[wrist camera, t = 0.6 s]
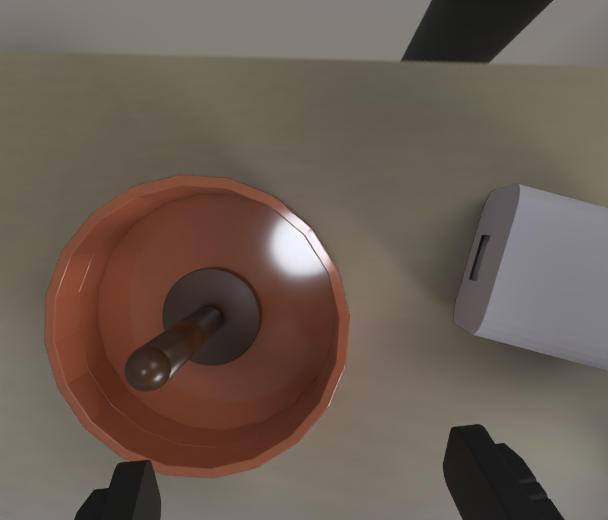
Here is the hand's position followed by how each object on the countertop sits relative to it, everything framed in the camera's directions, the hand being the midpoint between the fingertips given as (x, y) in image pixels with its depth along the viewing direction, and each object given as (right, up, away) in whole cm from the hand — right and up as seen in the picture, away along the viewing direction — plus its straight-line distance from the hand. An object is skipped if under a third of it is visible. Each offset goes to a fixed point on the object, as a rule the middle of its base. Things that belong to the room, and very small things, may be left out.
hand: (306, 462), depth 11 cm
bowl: (-6, +2, +18) cm, 19 cm away
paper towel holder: (-6, +2, +17) cm, 18 cm away
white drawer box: (+18, +4, +17) cm, 25 cm away
